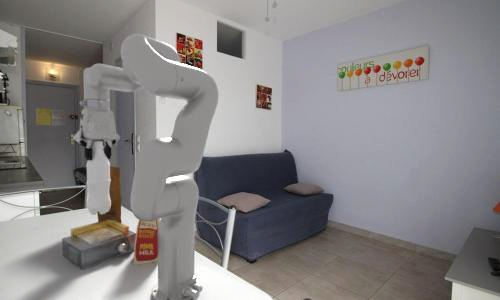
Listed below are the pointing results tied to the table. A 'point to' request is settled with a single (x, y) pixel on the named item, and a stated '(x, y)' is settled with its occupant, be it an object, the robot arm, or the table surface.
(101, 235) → the gray box with knob
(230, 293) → the table surface
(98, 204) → the water bottle
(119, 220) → the pancake mix bag
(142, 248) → the milk carton
